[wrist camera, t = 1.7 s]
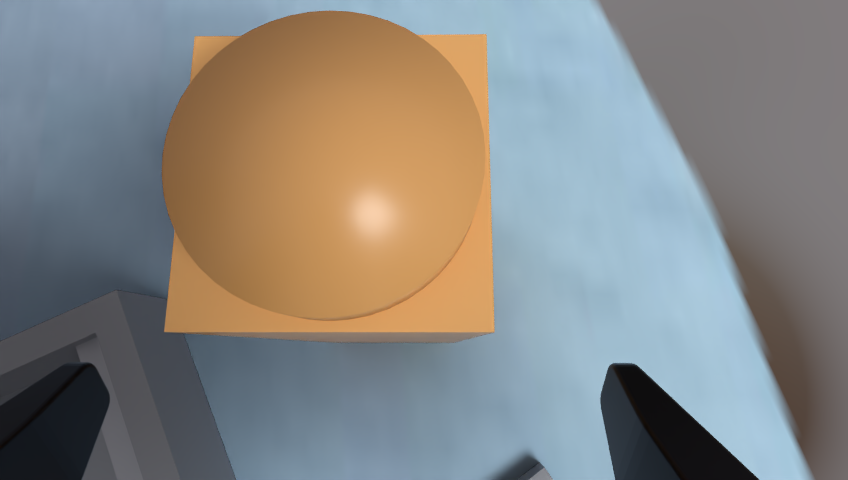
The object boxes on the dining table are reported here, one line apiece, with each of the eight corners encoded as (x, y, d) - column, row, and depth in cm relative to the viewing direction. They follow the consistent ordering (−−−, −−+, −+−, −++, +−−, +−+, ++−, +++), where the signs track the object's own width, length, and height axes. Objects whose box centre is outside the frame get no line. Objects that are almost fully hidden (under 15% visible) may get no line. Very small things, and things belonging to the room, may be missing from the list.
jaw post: (453, 342, 19) (502, 329, 6) (333, 342, 19) (131, 329, 6) (452, 225, 20) (492, -1, 7) (337, 225, 20) (169, 2, 7)
